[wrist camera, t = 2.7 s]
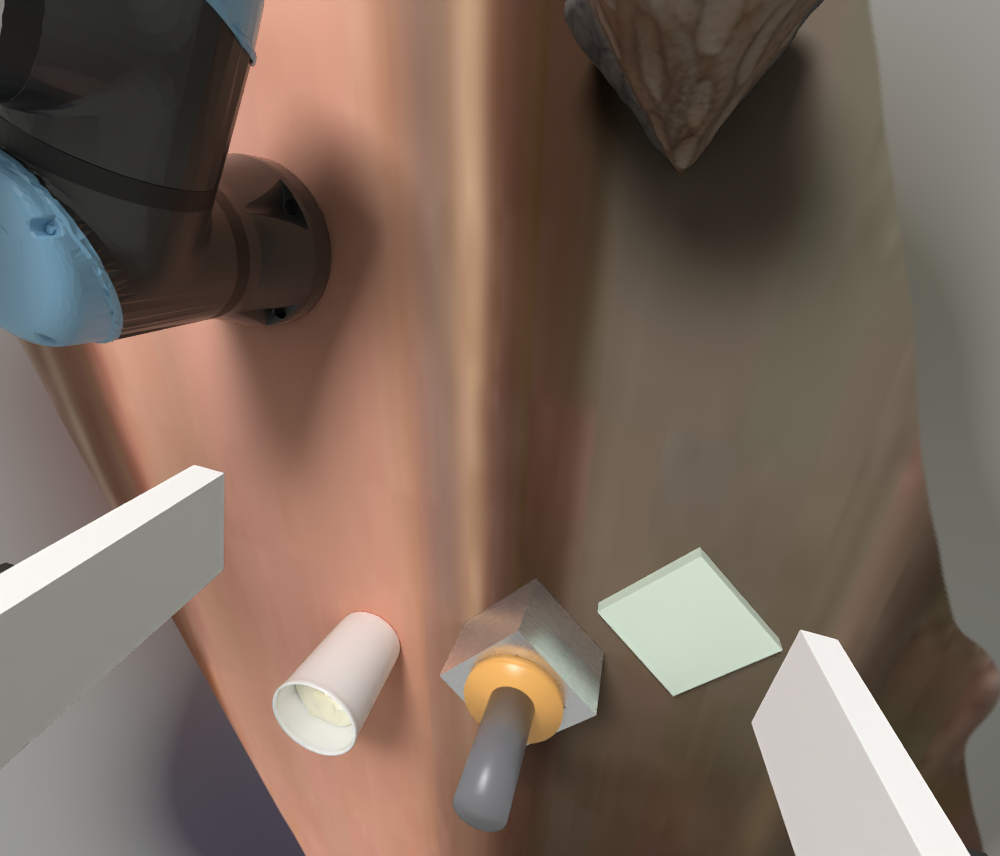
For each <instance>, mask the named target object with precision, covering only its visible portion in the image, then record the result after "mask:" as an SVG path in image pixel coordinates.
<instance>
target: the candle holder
mask: <svg viewBox="0 0 1000 856" xmlns="http://www.w3.org/2000/svg"><path fill="white" fill-rule="evenodd" d="M399 653H400V642H399V639H398V636H397V634H396V633H395V631H394V630H393V628H392V627H391V626H390V625H389V624H388V623H387V622H386V621H385V620H383V619H382V618H380V617H378V616H376V615H374V614H371V613H368V612H354V613H351V614H349V615H347V616H346V617H345V618H343V619H342V620H341V621H340V622H339V624H338V625H337V626H336V627H335V628H334V629H333V630H332V631H331V632H330V633H329V634H328V635H327V636H326V637H325V639H324V640H323V641H322V642H321V643H320V644H319V645H318V646H317V647H316V648H315V649H314V651H313V652H312V653H311V654H310V655H309V656H308V657H307V658H306V659H305V660H304V661H303V663H302V664H301V665H300V666H299V667H298V668H297V669H296V670H295V671H294V672H293V673H292V674H291V676H290V677H289V678H288V679H287V680H286V681H285V682H284V683H283V684H282V685H281V686H279V688H278V689H277V690H276V692H275V694H274V696H273V701H272V705H273V711H274V714H275V717H276V719H277V721H278V723H279V724H280V726H281V727H282V729H283V730H284V731H285V732H286V733H287V735H288V736H289V737H291V738H292V739H293V740H294V741H295V742H297V743H298V744H299V745H301V746H303V747H304V748H306V749H308V750H310V751H312V752H315V753H318V754H322V755H328V756H336V755H341V754H344V753H346V752H348V751H349V750H350V749H351V748H352V747H353V746H354V744H355V742H356V740H357V737H358V735H359V733H360V731H361V729H362V727H363V725H364V723H365V721H366V719H367V717H368V715H369V713H370V712H371V710H372V708H373V706H374V704H375V702H376V700H377V698H378V696H379V694H380V692H381V690H382V688H383V686H384V684H385V682H386V681H387V679H388V677H389V675H390V673H391V671H392V669H393V667H394V665H395V663H396V661H397V659H398V656H399Z"/></svg>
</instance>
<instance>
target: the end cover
mask: <svg viewBox="0 0 1000 856" xmlns="http://www.w3.org/2000/svg"><path fill="white" fill-rule="evenodd" d="M464 699H465V703H466V706H467V708H468V710H469V712H470V713H471V715H472V716H473V718H474V719H475V720H476V721H477V722H478V723H479V724H480V726H479V728H478V731H477V734H476V737H475V740H474V742H473V745H472V748H471V751H470V754H469V757H468V759H467V762H466V765H465V768H464V771H463V773H462V776H461V779H460V782H459V785H458V787H457V790H456V793H455V796H454V799H453V807H454V810H455V812H456V813H457V815H458V816H459V817H460V818H461V819H462V820H463V821H464V822H465V823H467V824H468V825H470V826H472V827H474V828H476V829H479V830H482V831H487V832H494V831H499V830H501V829H502V828H504V827H505V825H506V823H507V820H508V816H509V812H510V808H511V804H512V800H513V796H514V792H515V788H516V784H517V780H518V776H519V772H520V768H521V764H522V760H523V756H524V752H525V748H526V744H530V743H538V742H541V741H544V740H546V739H548V738H550V737H551V736H553V735H554V734H555V733H556V732H557V730H558V729H559V727H560V725H561V722H562V717H563V712H564V697H563V694H562V691H561V689H560V687H559V685H558V683H557V682H556V681H555V679H554V678H553V677H552V676H551V675H550V674H549V673H548V672H547V671H546V670H544V669H543V668H542V667H540V666H539V665H537V664H536V663H534V662H532V661H530V660H527V659H525V658H522V657H519V656H518V655H516V656H513V655H493V656H489V657H486V658H484V659H482V660H480V661H479V662H477V663H476V664H475V665H474V667H473V668H472V669H471V671H470V673H469V676H468V678H467V681H466V683H465V686H464Z"/></svg>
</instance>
